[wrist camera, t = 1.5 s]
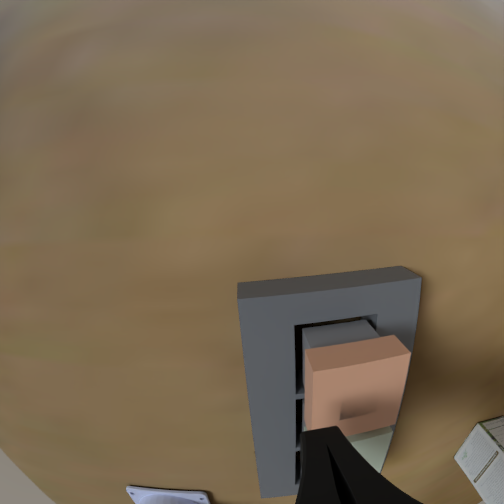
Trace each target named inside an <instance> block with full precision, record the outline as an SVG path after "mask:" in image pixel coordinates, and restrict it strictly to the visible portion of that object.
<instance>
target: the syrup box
mask: <svg viewBox="0 0 504 504" xmlns="http://www.w3.org/2000/svg"><path fill="white" fill-rule="evenodd" d="M454 459H455V460H456V462H457V463H458V464H459V466H460V467H461V468H462V470H463V471H464V473H465V474H466V476H467V477H468V478H469V480H470V481H471V483H472V484H473V486H474V487H475V489H476V490H477V492H478V493H479V495H480V496H481V498H482V499H483V501H484V502H485V504H504V416H502V417H498V418H495V419H492V420H488V421H484V422H480V423H477V425H476V426H475V427H474V429H473V430H472V431H471V433H470V434H469V436H468V437H467V439H466V440H465V442H464V443H463V444H462V446H461V447H460V449H459V450H458V452H457V453H456V455H455V456H454Z"/></svg>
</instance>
